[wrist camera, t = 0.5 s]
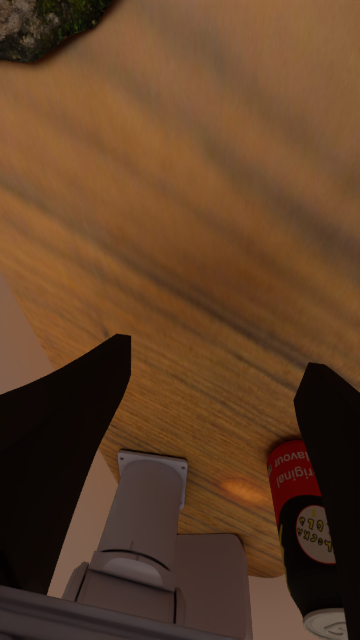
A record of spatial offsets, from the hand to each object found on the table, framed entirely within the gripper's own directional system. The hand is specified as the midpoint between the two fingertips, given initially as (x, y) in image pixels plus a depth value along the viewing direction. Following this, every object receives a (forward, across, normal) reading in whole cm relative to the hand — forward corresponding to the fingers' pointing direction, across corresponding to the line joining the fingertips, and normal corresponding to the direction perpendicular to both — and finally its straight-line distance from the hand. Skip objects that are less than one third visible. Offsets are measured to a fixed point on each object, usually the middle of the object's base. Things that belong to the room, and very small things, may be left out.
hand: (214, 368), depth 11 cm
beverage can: (+10, -11, +17) cm, 23 cm away
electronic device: (+10, -5, +38) cm, 40 cm away
